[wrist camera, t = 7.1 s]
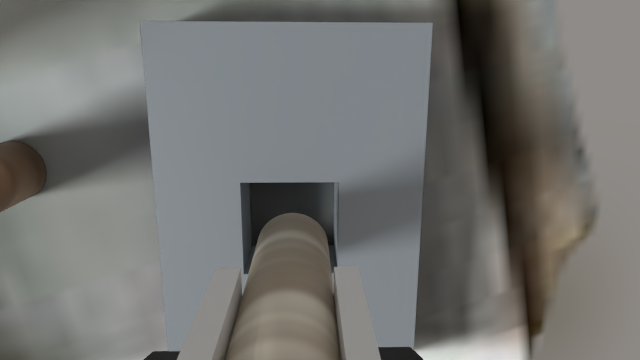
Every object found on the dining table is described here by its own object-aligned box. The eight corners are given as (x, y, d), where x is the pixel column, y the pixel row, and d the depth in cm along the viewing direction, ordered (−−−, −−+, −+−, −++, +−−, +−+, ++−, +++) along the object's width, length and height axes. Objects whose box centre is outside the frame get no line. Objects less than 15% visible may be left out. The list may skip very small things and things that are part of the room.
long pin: (256, 212, 20) (147, 541, 6) (329, 213, 20) (376, 538, 6) (257, 278, 20) (161, 704, 7) (327, 279, 21) (367, 700, 7)
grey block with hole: (164, 26, 23) (139, 21, 19) (413, 28, 23) (432, 22, 20) (188, 357, 27) (171, 400, 24) (397, 354, 28) (410, 395, 24)
